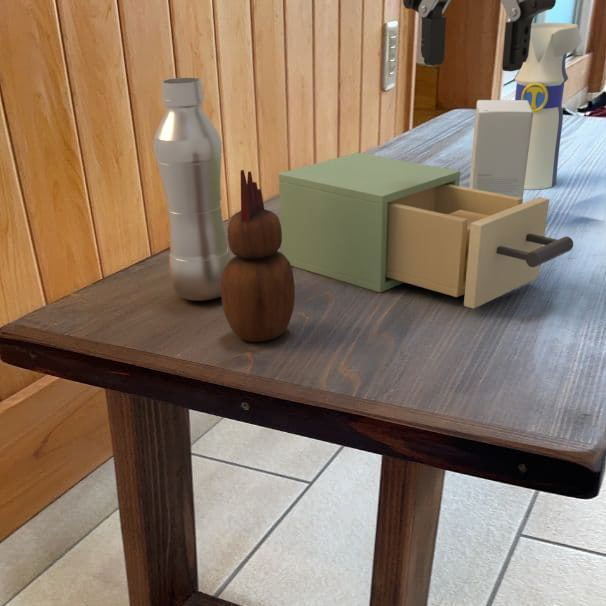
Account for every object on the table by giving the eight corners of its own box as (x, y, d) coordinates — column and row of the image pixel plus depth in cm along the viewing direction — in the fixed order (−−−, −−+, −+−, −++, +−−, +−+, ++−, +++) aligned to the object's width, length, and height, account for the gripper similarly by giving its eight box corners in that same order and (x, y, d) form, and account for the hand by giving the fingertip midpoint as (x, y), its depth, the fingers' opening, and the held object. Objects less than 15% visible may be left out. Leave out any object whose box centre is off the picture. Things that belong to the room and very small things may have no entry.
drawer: (579, 287, 85) (593, 207, 80) (515, 321, 79) (526, 235, 74) (434, 251, 96) (438, 177, 91) (367, 277, 89) (368, 200, 85)
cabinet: (453, 262, 95) (460, 170, 89) (380, 292, 88) (382, 196, 82) (356, 237, 104) (356, 152, 98) (282, 263, 96) (278, 173, 91)
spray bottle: (555, 192, 117) (585, -25, 102) (493, 187, 120) (514, -25, 105) (565, 178, 123) (595, -29, 109) (506, 173, 126) (528, -29, 111)
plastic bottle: (245, 289, 90) (230, 76, 78) (214, 312, 85) (193, 88, 73) (192, 282, 92) (170, 73, 80) (159, 303, 87) (130, 85, 75)
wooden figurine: (258, 354, 76) (247, 178, 67) (213, 339, 79) (197, 168, 71) (307, 331, 80) (303, 161, 72) (262, 317, 84) (253, 152, 75)
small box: (519, 228, 105) (534, 111, 97) (467, 227, 105) (477, 111, 98) (515, 209, 111) (528, 98, 103) (466, 209, 112) (475, 99, 104)
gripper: (593, -173, 65) (563, 67, 75) (443, -157, 74) (433, 57, 83) (539, -176, 61) (515, 79, 71) (387, -158, 69) (384, 67, 79)
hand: (471, 67), depth 77 cm, fingers open, 8 cm apart
